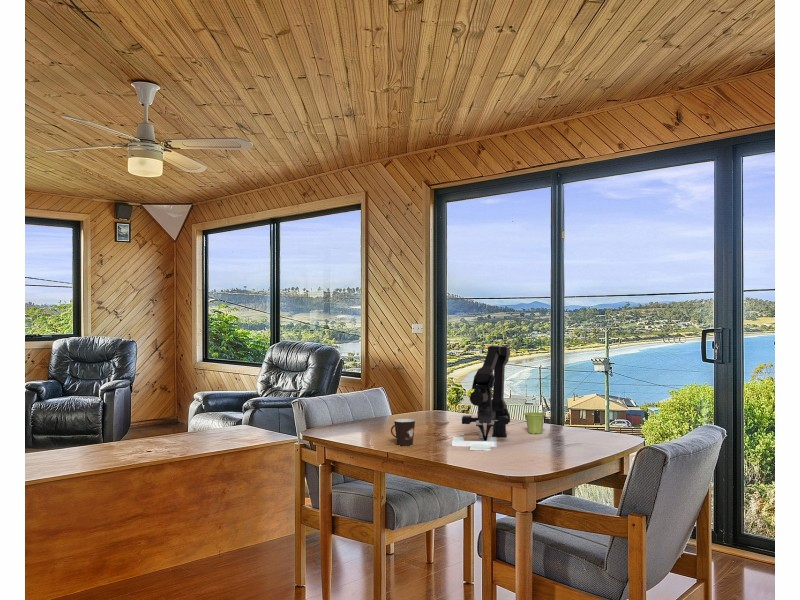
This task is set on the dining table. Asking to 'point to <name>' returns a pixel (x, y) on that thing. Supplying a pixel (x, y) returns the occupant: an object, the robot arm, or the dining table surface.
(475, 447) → the coaster
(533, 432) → the plant pot
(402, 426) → the coffee mug
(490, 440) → the channel
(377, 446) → the dining table surface
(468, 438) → the block
